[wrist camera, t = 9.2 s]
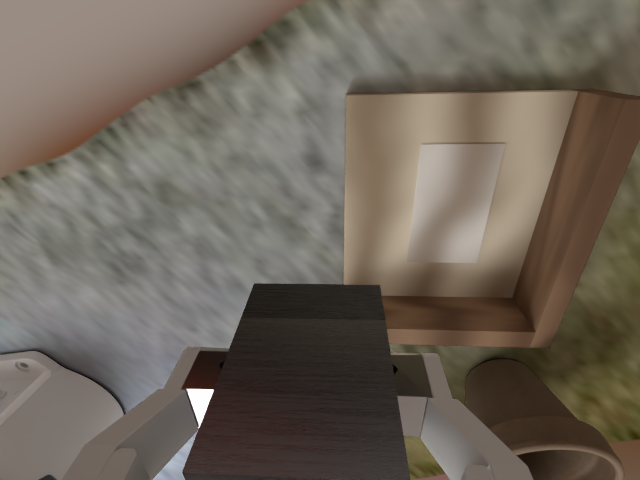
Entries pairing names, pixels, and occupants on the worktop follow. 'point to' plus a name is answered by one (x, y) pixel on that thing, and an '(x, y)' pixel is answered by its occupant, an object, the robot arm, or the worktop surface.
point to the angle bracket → (304, 391)
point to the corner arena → (480, 206)
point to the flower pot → (538, 424)
